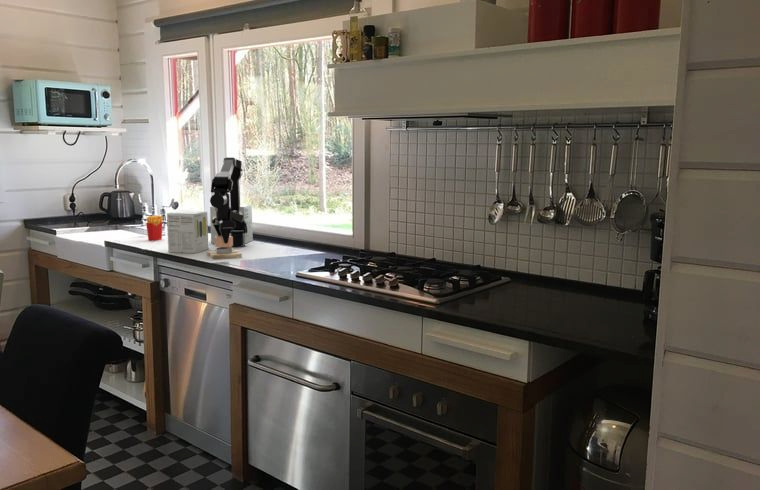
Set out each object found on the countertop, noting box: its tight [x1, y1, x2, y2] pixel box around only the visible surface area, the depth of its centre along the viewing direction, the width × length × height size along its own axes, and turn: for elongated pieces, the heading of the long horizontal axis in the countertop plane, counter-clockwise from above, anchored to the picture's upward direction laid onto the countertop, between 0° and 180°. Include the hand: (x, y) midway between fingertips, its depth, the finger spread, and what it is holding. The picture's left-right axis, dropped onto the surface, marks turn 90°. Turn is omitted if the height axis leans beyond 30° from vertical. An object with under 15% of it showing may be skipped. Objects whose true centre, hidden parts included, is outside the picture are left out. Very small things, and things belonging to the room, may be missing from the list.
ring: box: [214, 236, 233, 248], centre depth 272 cm, size 7×7×4 cm
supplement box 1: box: [166, 209, 209, 254], centre depth 285 cm, size 13×13×18 cm
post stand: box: [206, 236, 243, 260], centre depth 272 cm, size 12×12×8 cm
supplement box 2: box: [209, 204, 254, 245], centre depth 312 cm, size 17×13×18 cm
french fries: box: [145, 214, 164, 242], centre depth 317 cm, size 8×4×12 cm, turn 143°
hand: (224, 242), depth 272 cm, fingers open, 7 cm apart
